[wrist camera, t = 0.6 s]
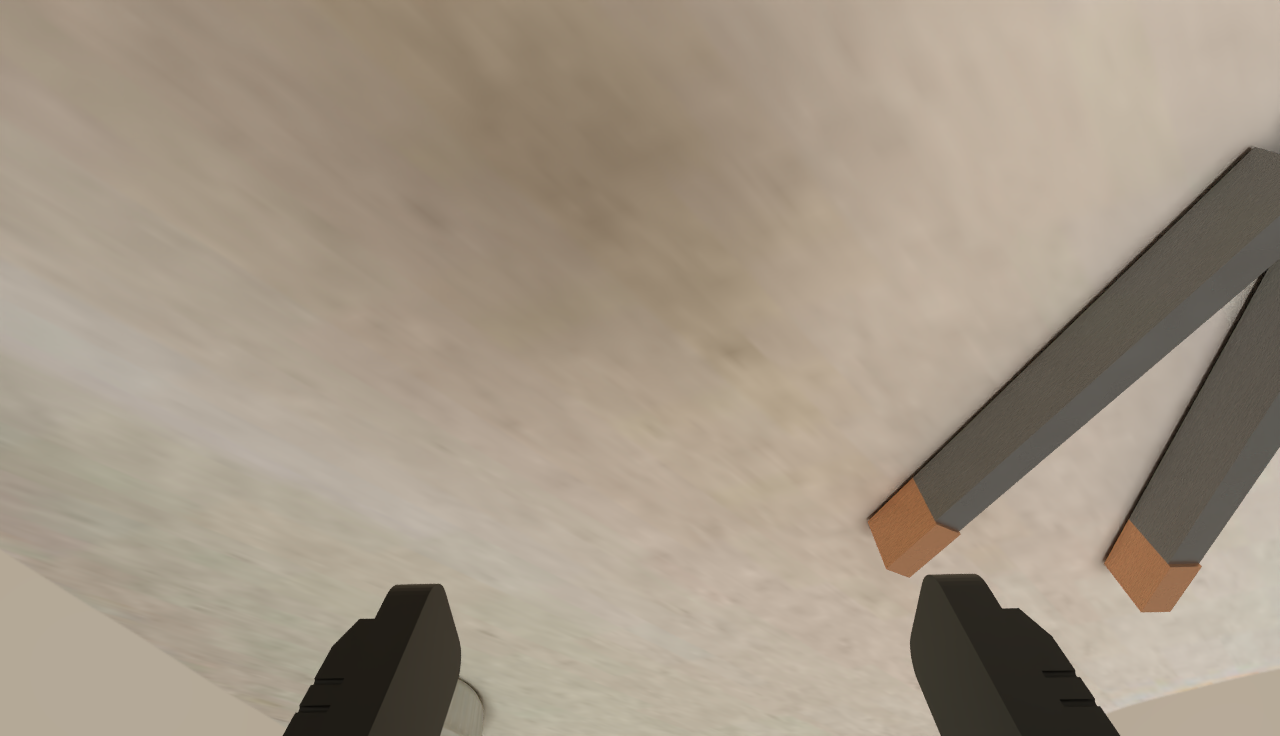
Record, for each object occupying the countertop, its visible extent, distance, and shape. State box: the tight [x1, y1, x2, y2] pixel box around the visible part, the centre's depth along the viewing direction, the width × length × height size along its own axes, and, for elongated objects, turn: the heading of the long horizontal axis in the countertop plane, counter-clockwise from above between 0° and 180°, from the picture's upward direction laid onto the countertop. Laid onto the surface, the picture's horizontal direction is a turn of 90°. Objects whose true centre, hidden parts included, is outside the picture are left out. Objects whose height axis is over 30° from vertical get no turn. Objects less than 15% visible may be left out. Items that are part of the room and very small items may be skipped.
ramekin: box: [440, 679, 484, 736], centre depth 46 cm, size 11×11×5 cm
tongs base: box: [1104, 259, 1280, 612], centre depth 28 cm, size 28×4×4 cm, turn 4°
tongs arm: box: [868, 147, 1280, 578], centre depth 28 cm, size 24×2×3 cm, turn 154°
